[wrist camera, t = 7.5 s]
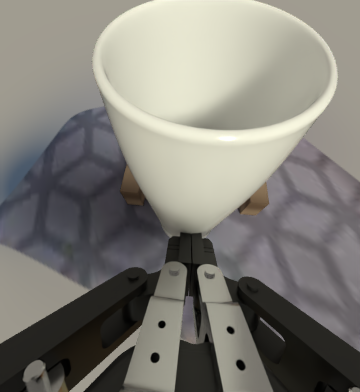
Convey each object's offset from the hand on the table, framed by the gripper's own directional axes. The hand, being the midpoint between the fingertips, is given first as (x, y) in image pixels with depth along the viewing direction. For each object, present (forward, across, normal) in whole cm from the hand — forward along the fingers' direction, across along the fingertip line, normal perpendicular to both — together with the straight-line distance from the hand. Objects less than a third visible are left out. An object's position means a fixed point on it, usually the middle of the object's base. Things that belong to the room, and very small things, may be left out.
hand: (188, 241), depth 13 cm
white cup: (+6, 0, +1) cm, 6 cm away
